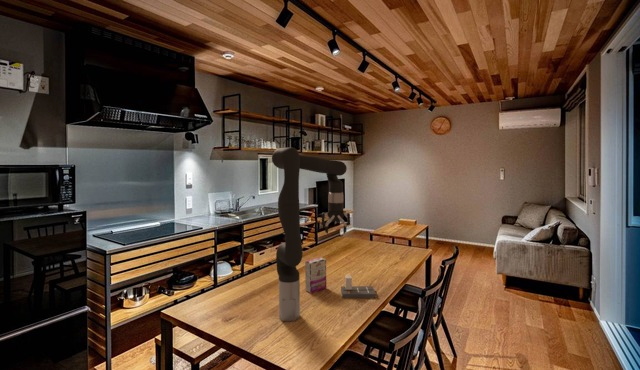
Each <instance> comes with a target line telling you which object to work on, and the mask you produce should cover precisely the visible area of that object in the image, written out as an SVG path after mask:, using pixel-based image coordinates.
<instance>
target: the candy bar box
mask: <svg viewBox="0 0 640 370" xmlns="http://www.w3.org/2000/svg"><path fill="white" fill-rule="evenodd" d="M304 271H305V272H304V276H305V278H304V279H305V291H306V292H307V293H309V294H313V293H316V292H319V291H322V290H324V289H327V259H326V258H324V257H322V256H321V257H317V258H313V259H309V260H306V261H304Z"/></svg>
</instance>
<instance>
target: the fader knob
mask: <svg viewBox="0 0 640 370" xmlns="http://www.w3.org/2000/svg"><path fill="white" fill-rule="evenodd" d="M344 277H345V279H344V284H345V285H344V286H345V288H346V289H347V290H350V289H352V285H353V283H352V282H353V280H352V279H353V277H352V275H350V274H348V275H347V274H346V275H345V276H344Z"/></svg>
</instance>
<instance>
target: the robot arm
mask: <svg viewBox="0 0 640 370" xmlns="http://www.w3.org/2000/svg"><path fill="white" fill-rule="evenodd" d="M271 162H272V164H273V165H274V166H275V167H276V168H278V169H280V170H283V177H284V180H283V185H282V187H281V190H280V192H279V195H278V199H277V213H278V218H279V221H280V224H281V227H282V230H283V233H284V241H285V242H282V243H281V244H279V246H278V247H277V248H276V254H275V257H276V258H275V259H276V260H275V261H276V272H277V276H278V317H279V319H280V320H281V322H296V321H297V320H298V319H299V318H300V315H301V314H300V313H301V308H300V307H301V306H300V304H301V303H300V297H301V296H300V291H301V290H300V289H301V288H300V284H301V283H300V282H301V281H300V271H299V270H298V269H297V266H299V265H300V263H301V262H302V260H303V246H302V239H301V225H300V224H301V221H300V219H301V218H300V215H301V214H300V183H299V182H300V181H299V180H300V170H305V171H310V172H315V173H320V174H326V179H327V182H328V197H327V199H328V200H327V201H328V208H327V209H328V212H326V213H325V212H322V213H321V225H322V226H323V227H324V232H325V233H326V234H327V235H328V234H329V225H330V223H332V222H338V223H339V222H341V223H342V224H343V227H342V228H343V230H342V231H343V235H345V234H346V233H347V227H348V226H351V215H350V212H346V213H345V212H344V183H343V181H342V180H340V179H338V178H339V177H338V176H343V175H344V174H346V172H347V170H348V168H347V165H346V163H345V162H344V161H341V160H333V159H327V158H324V157H319V156H313V155H312V156H311V155H301V154H300V152H299V151H298V149H297V148H295V147H280V148H277V149H274V151H273V152H272V155H271ZM327 217H328V220H327V221H326V222H325V219H326V218H327ZM344 217H346V219H347V220H346V221H347V222H345V220H344V219H343V218H344Z"/></svg>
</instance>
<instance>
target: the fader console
mask: <svg viewBox="0 0 640 370" xmlns="http://www.w3.org/2000/svg"><path fill="white" fill-rule="evenodd" d="M340 292H341V293H340V294H341V297H342V299H361V298H362V299H363V298H364V299H370V298H371V299H372V298H373V299H374V298H375V299H376V297H377V293H376V291H375V288H374V287H373V286H372V285H371V286H370V285H368V286H367V285H365V286H361V285H360V286H359V285H358V286H357V285H356V286H355V285H353V286H352V289H350V290H347V289H346V288H345V285H343V286H340Z"/></svg>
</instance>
